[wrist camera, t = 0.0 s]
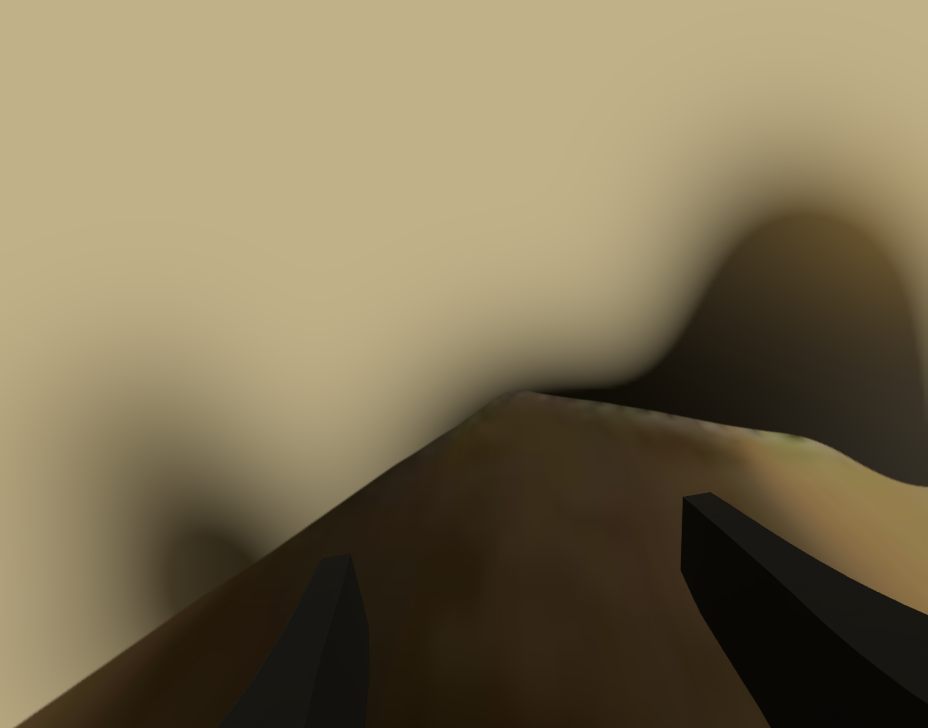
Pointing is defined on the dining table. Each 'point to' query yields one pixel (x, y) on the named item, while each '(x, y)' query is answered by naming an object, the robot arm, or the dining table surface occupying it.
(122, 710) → the dining table surface
